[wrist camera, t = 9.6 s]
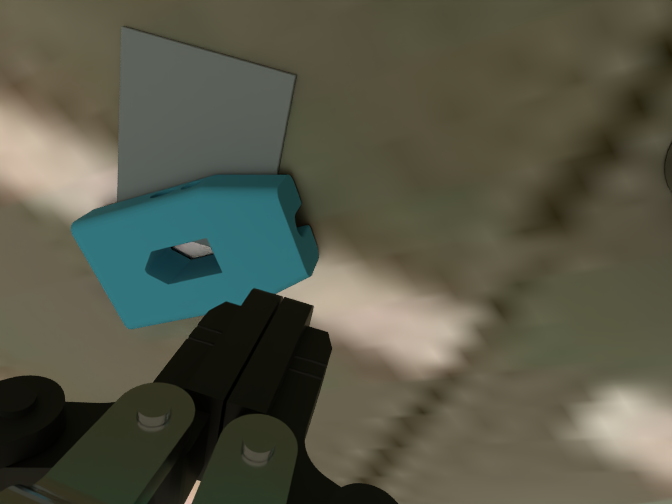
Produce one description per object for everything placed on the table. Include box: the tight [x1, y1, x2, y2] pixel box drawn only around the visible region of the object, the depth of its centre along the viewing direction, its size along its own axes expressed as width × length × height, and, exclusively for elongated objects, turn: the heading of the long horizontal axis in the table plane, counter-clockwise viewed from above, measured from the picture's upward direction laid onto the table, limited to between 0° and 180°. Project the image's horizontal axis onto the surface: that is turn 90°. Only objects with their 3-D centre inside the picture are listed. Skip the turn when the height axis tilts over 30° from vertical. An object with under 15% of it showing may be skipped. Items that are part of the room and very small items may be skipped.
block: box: [71, 175, 319, 329], centre depth 45 cm, size 12×5×20 cm
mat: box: [117, 26, 297, 247], centre depth 44 cm, size 15×18×1 cm
